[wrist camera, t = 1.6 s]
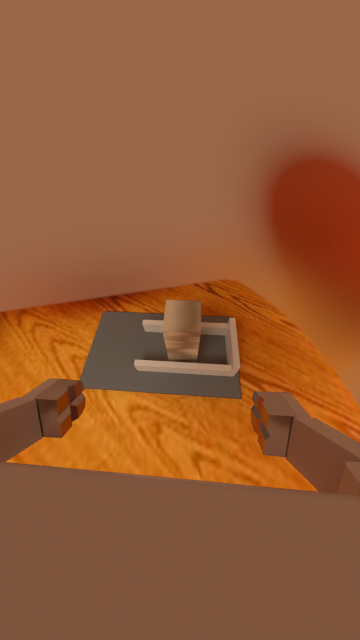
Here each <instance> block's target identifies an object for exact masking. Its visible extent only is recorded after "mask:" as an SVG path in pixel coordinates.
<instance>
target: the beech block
mask: <svg viewBox="0 0 360 640" xmlns="http://www.w3.org/2000/svg"><path fill="white" fill-rule="evenodd" d="M162 332H163V336H164V341H165V345H166V350H167V354H168V359H169V362H186V363H196V362H197V356H198V349H199V342H200V335H201V301H185V300H166V306H165V313H164V321H163V328H162Z"/></svg>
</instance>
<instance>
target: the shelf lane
mask: <svg viewBox="0 0 360 640" xmlns="http://www.w3.org/2000/svg"><path fill="white" fill-rule="evenodd" d="M163 321H164V314H154V313H131V312H107V311H104V312H103V314H102V317H101V320H100V323H99V326H98V329H97V332H96V335H95V338H94V340H93V343H92V346H91V349H90V352H89V355H88V358H87V361H86V363H85V366H84V369H83V372H82V375H81V378H80V381H82V382H83V384H84V388H89V389H104V390H118V391H133V392H148V393H162V394H177V395H192V396H206V397H221V398H235V399H241V391H240V380H239V369H240V358H239V349H238V339H237V329H236V320H235V318H233V317H224V316H201V335H200V342H199V349H198V356H197V362H196V363H186V362H169V359H168V354H167V350H166V345H165V341H164V336H163V332H162V328H163Z"/></svg>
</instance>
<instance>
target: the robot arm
mask: <svg viewBox="0 0 360 640" xmlns="http://www.w3.org/2000/svg"><path fill="white" fill-rule="evenodd" d="M83 390H84V384H83V382H82V381H79V380H67V379H48V380H47V381H45V382H44V383H42V384H41V385H39V386H38V387H36V388H35V389H33V390H32V391H30V392H29V393H28V394H26V395H25V396H23V397H22V398H16V399H13V400H10V401H7V402H4V403H1V404H0V640H360V443H359V442H357V441H355V440H353V439H351V438H350V437H348V436H346V435H344V434H343V433H341V432H339V431H337V430H335V429H334V428H332V427H330V426H328V425H327V424H325V423H323V422H321V421H319V420H318V419H316V418H311V417H310V416H309V414H308V413H307V412H306V411H305V410H304V408H303V407H302V406H301V405H300V404H299V403H298V401H297V400H296V399H295V398H294V397H293V395H292V394H290V393H288V392H254V393H253V399H252V400H253V402H254V404H255V405H254V406H253V407H252V408H251V423H252V427H253V429H254V432H256V433H257V434H258V442H259V445H260V447H261V450H262V452H263V455H270V456H279V457H286V459H287V460H288V461H289V462H290V463H291V464H292V465H293V466H294V467H295V468H296V469H297V470H298V471H299V472H300V473H301V474H302V475H303V476H304V477H305V478H306V479H307V480H308V481H309V482H310V483H311V484H312V485H313V486H314V487H315V488H316V489H317V490H318V491H319V492H315V491H304V490H293V489H282V488H271V487H260V486H250V485H240V484H229V483H219V482H209V481H199V480H188V479H178V478H168V477H157V476H146V475H136V474H125V473H114V472H104V471H93V470H82V469H72V468H61V467H51V466H40V465H29V464H19V463H8V462H6V461H8V460H9V459H11V458H12V457H14V456H15V455H17V454H18V453H20V452H21V451H23V450H25V449H26V448H28V447H29V446H31V445H32V444H34V443H35V442H37V441H38V440H40V439H42V437H55V438H62V437H63V436H64V435H65V434H66V432H67V431H68V430H69V429H70V428H71V426H72V421H74V420H76V419H78V418H79V417H80V415H81V414H82V413H83V410H84V408H85V396H84V395H83V394H82V391H83Z"/></svg>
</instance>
